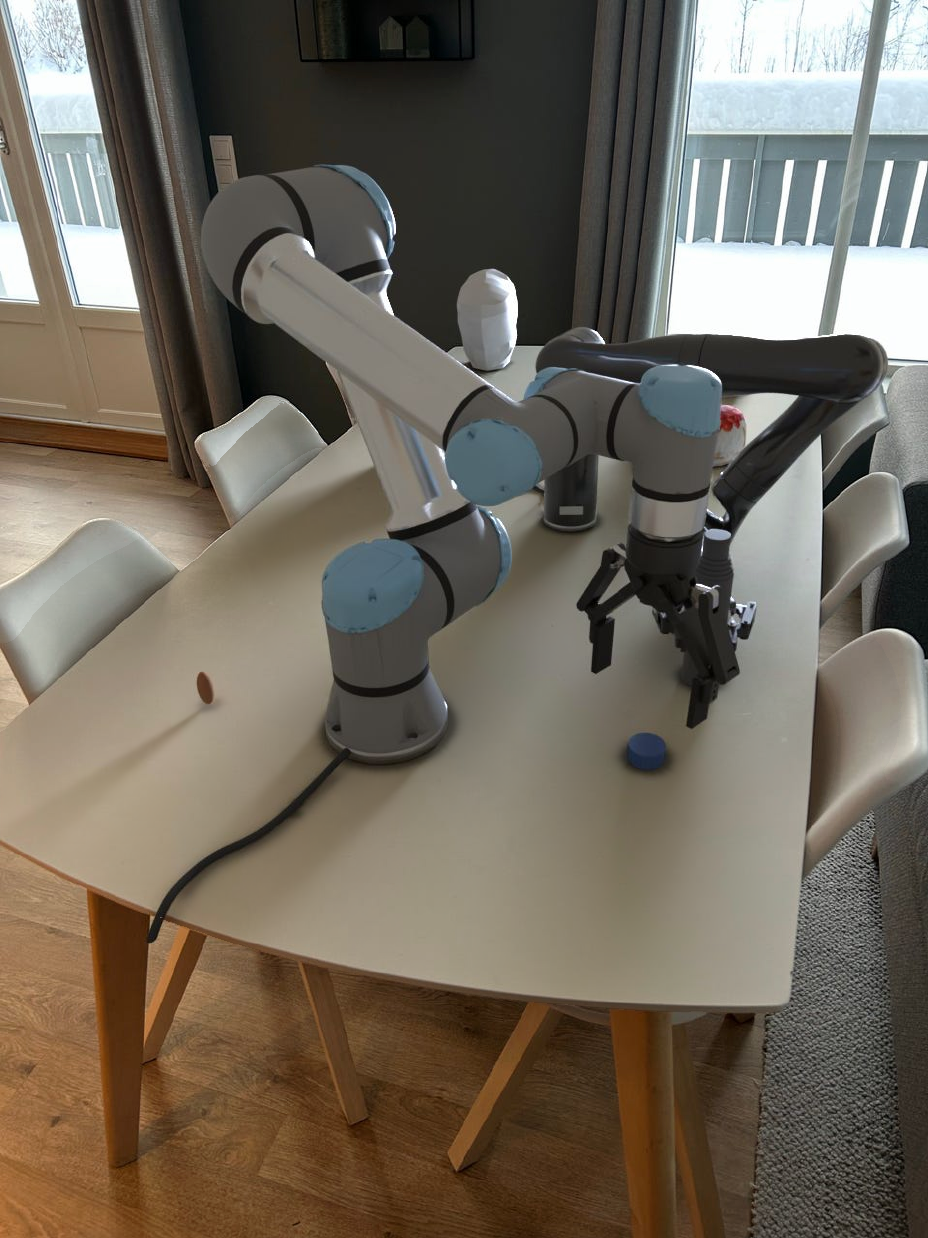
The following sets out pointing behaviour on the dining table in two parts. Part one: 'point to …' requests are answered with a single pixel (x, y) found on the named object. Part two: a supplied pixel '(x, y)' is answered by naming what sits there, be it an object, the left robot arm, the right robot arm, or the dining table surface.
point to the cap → (646, 751)
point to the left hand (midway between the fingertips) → (646, 694)
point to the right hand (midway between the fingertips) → (706, 647)
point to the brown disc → (205, 687)
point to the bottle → (712, 580)
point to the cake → (730, 435)
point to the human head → (488, 319)
